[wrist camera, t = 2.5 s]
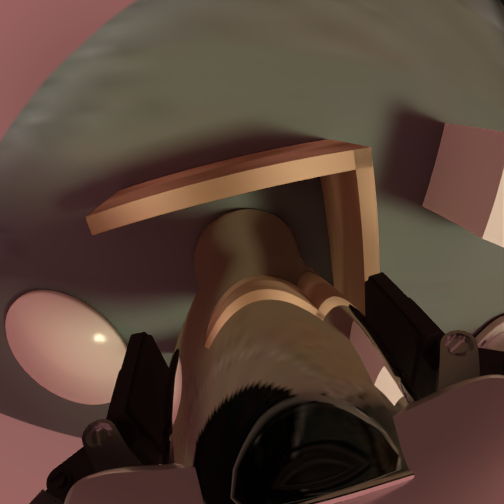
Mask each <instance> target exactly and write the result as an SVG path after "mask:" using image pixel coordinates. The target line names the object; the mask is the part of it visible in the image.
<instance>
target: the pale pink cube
mask: <svg viewBox="0 0 504 504" xmlns="http://www.w3.org/2000/svg"><path fill="white" fill-rule="evenodd" d="M422 206H423V207H425V208H427V209H429V210H431V211H432V212H434V213H436V214H438V215H440V216H442V217H444V218H446V219H448V220H450V221H452V222H454V223H455V224H457V225H459V226H461V227H463V228H465V229H466V230H468V231H470V232H472V233H473V234H475V235H477V236H479V237H480V238H482V239H485V240H487V241H490V242H492V243H494V244H497V245H499V246H501V247H504V132H501V131H495V130H490V129H483V128H477V127H470V126H463V125H455V124H446V123H445V125H444V130H443V134H442V138H441V142H440V146H439V150H438V154H437V158H436V162H435V165H434V169H433V172H432V176H431V179H430V183H429V186H428V189H427V192H426V196H425V199H424V202H423V205H422Z"/></svg>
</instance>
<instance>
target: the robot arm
mask: <svg viewBox="0 0 504 504" xmlns="http://www.w3.org/2000/svg"><path fill="white" fill-rule="evenodd" d="M365 317H366V318H367V320H368V321H369V322H370V323H371V325H372V326H373V327H374V328H375V330H376V331H377V332H378V334H379V335H380V336H381V337H382V339H383V340H384V341H385V343H386V344H387V345H388V347H389V348H390V350H391V351H392V353H393V354H394V356H395V358H396V359H397V361H398V362H399V364H400V365H401V367H402V369H403V370H404V372H405V374H406V375H407V377H408V378H409V380H410V382H411V384H412V386H413V388H414V389H415V391H416V393H417V395H418V397H419V400H417V401H415V402H412V403H410V404H408V405H407V406H405V407H404V408H403V409H402V410H401V411H399V412H398V413H397V414H396V415H395V416H393V420H394V424H395V427H396V432H397V435H398V438H399V442H400V446H401V449H402V453H403V456H404V458H405V461H406V463H407V466H408V468H409V469H410V471H411V472H413V473H414V474H415V475H414V478H413V479H412V480H411V481H409V482H408V483H406V484H404V485H402V486H400V487H398V488H395V489H393V490H391V491H388V492H385V493H382V494H379V495H376V496H372V497H369V498H366V499H363V500H359V501H356V502H352V503H349V504H504V316H501V317H499V318H498V319H496V320H494V321H493V322H492V323H490V324H489V325H488V326H487V327H485V328H484V329H483V330H482V331H481V332H480V333H479V334H478V335H477V336H476V337H475V338H474V336H472V335H471V334H470V333H467V332H465V331H459V330H457V331H451V332H448V333H447V334H444V333H443V332H442V330H441V329H440V328H439V327H438V326H437V325H436V324H435V323H434V322H433V321H432V320H431V319H430V318H429V317H428V316H427V314H426V313H425V312H424V311H423V310H422V309H421V308H420V307H419V306H418V305H417V304H416V303H415V302H414V301H413V300H412V299H411V298H408V297H407V296H406V295H405V294H404V293H403V292H402V291H401V290H400V289H399V288H398V287H397V286H396V285H395V284H394V283H393V282H392V281H391V280H390V279H389V278H388V277H387V276H386V275H385V274H384V273H383V272H381V273H378V274H374V275H371V276H369V277H368V280H367V281H365ZM168 372H169V367H168V366H167V364H166V362H165V360H164V358H163V356H162V354H161V352H160V350H159V349H158V347H157V345H156V343H155V341H154V339H153V337H152V335H148V334H147V333H146V332H142V333H137V334H132V335H131V337H130V340H129V343H128V347H127V350H126V353H125V357H124V360H123V364H122V367H121V369H120V370H119V373H118V376H117V379H116V383H115V387H114V390H113V394H112V398H111V402H110V406H109V410H108V414H107V418H106V419H100V420H96V421H94V422H92V423H91V424H89V425H88V426H87V427H86V429H85V430H84V432H83V435H82V442H83V445H84V447H82V448H81V449H80V450H79V451H77V452H76V453H75V454H73V455H72V456H71V457H69V458H68V459H67V460H66V461H64V462H63V463H62V464H60V465H59V466H58V467H56V468H55V469H54V470H53V471H52V472H51V473H50V474H49V476H48V478H47V490H46V491H45V490H41V492H40V493H39V494H38V495H37V496H36V497H35V498H34V499H33V500H32V501H31V502H30V503H29V504H204V502H203V498H202V494H201V490H200V486H199V481H198V477H197V474H196V470H195V467H190V466H185V465H180V464H163V465H159V464H162V445H161V440H162V420H163V404H164V397H165V390H166V384H167V378H168Z"/></svg>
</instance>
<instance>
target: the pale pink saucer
mask: <svg viewBox="0 0 504 504" xmlns="http://www.w3.org/2000/svg"><path fill="white" fill-rule="evenodd" d="M5 330H6V336H7V340H8V343H9V346H10V348H11V351H12V352H13V354H14V356H15V358H16V359H17V361H18V362H19V364H20V365H21V366H22V368H23V369H24V370H25V371H26V372H27V373H28V374H29V375H30V376H31V377H32V378H33V379H34V380H35V381H36V382H37V383H39V384H40V385H41V386H43V387H44V388H46V389H47V390H49V391H50V392H52V393H54V394H56V395H58V396H60V397H62V398H65V399H67V400H70V401H73V402H77V403H82V404H90V405H99V404H106V403H110V402H111V398H112V394H113V390H114V387H115V383H116V379H117V376H118V373H119V370H120V369H121V367H122V364H123V360H124V357H125V353H126V350H127V345H126V343H125V341H124V340H123V338H122V337H121V335H120V334H119V332H118V331H117V330H116V329H115V327H114V326H113V325H112V324H111V323H110V322H109V321H108V320H107V319H106V318H105V317H104V316H102V315H101V314H100V313H99V312H98V311H96V310H95V309H94V308H92V307H91V306H89V305H88V304H86V303H84V302H83V301H81V300H79V299H77V298H75V297H73V296H70V295H67V294H65V293H61V292H58V291H53V290H34V291H30V292H27V293H25V294H23V295H22V296H20V297H19V298H18V299H17V300H16V301H15V302H14V303H13V304H12V306H11V307H10V309H9V310H8V313H7V316H6V321H5Z"/></svg>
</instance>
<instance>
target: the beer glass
mask: <svg viewBox="0 0 504 504" xmlns="http://www.w3.org/2000/svg"><path fill="white" fill-rule="evenodd" d="M194 271H195V275H196V278H197V282H198V285H199V288H198V291H197V293H196V295H195V298H194V300H193V302H192V304H191V307H190V309H189V311H188V314H187V316H186V319H185V321H184V323H183V326H182V328H181V331H180V333H179V336H178V340H177V343H176V346H175V349H174V352H173V356H172V359H171V362H170V366H169V372H168V378H167V384H166V390H165V397H164V404H163V420H162V440H161V445H162V465H163V464H180V465H185V466H190V467H195V470H196V474H197V477H198V481H199V486H200V490H201V494H202V498H203V502H204V504H349V503H352V502H356V501H359V500H363V499H366V498H369V497H372V496H376V495H379V494H382V493H385V492H388V491H391V490H393V489H395V488H398V487H400V486H402V485H404V484H406V483H408V482H409V481H411V480H412V479H413V478H414V475H415V474H414V473H413V472H411V471H410V469H409V468H408V466H407V463H406V461H405V458H404V456H403V453H402V449H401V446H400V442H399V438H398V435H397V432H396V427H395V424H394V420H393V416H395V415H396V414H397V413H398V412H399V411H401V410H402V409H403V408H404V407H405V406H407V405H408V404H410V403H412V402H415V401H417V400H419V397H418V395H417V393H416V391H415V389H414V388H413V386H412V384H411V382H410V380H409V378H408V377H407V375H406V374H405V372H404V370H403V369H402V367H401V365H400V364H399V362H398V361H397V359H396V358H395V356H394V354H393V353H392V351H391V350H390V348H389V347H388V345H387V344H386V343H385V341H384V340H383V339H382V337H381V336H380V335H379V334H378V332H377V331H376V330H375V328H374V327H373V326H372V325H371V323H370V322H369V321H368V320H367V318H366V317H365V316H364V315H363V314H362V313H361V312H360V311H359V310H358V309H357V308H356V307H355V306H354V305H353V304H352V303H351V302H350V301H349V300H348V299H347V298H346V297H345V296H344V295H343V294H342V293H340V292H339V291H338V290H337V289H336V288H334V287H333V286H332V285H331V284H330V283H328V282H327V281H326V280H325V279H323V278H322V277H321V276H320V275H318V274H317V273H316V272H315V271H313V270H312V269H311V268H309V267H308V266H307V265H306V264H305V263H304V262H302V260H301V259H300V254H299V249H298V245H297V242H296V239H295V237H294V235H293V233H292V231H291V230H290V228H289V227H288V226H287V225H286V224H285V223H284V222H283V221H282V220H281V219H279V218H278V217H276V216H274V215H272V214H270V213H268V212H265V211H261V210H256V209H241V210H235V211H232V212H229V213H226V214H224V215H222V216H220V217H218V218H217V219H215V220H214V221H213V222H212V223H210V224H209V225H208V226H207V227H206V229H205V230H204V231H203V232H202V234H201V236H200V237H199V239H198V242H197V244H196V247H195V251H194Z"/></svg>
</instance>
